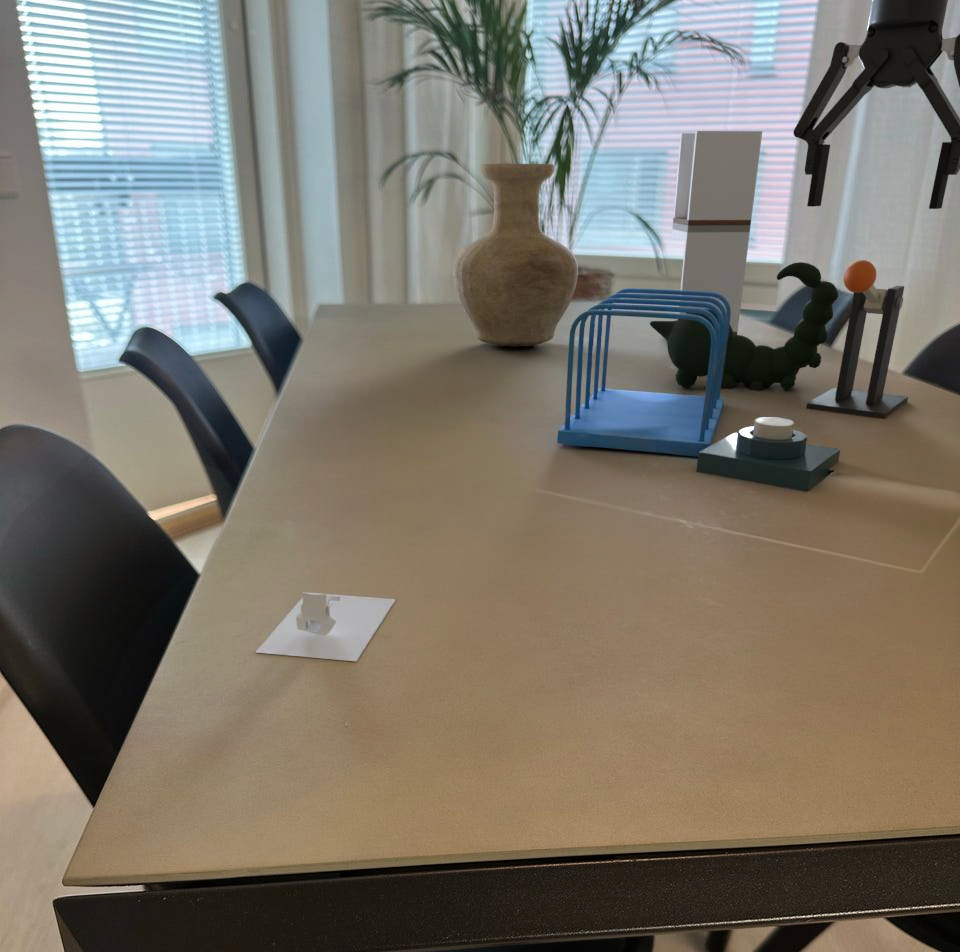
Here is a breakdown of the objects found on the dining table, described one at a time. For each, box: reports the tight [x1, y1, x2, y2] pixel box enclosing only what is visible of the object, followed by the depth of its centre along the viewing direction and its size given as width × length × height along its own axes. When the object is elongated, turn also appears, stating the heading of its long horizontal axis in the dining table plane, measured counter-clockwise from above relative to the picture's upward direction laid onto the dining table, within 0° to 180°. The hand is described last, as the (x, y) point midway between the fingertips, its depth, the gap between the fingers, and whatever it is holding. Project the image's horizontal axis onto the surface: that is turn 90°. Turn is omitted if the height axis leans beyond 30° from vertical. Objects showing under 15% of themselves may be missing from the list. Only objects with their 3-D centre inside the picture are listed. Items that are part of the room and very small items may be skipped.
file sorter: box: [556, 287, 731, 458], centre depth 111 cm, size 25×17×15 cm
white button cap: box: [753, 416, 795, 440], centre depth 96 cm, size 4×4×2 cm
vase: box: [452, 163, 579, 347], centre depth 163 cm, size 22×22×30 cm
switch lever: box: [843, 259, 888, 315], centre depth 112 cm, size 14×4×4 cm, turn 144°
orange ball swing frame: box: [805, 285, 909, 420], centre depth 119 cm, size 12×10×16 cm
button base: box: [696, 425, 841, 493], centre depth 97 cm, size 12×10×4 cm
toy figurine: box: [649, 261, 839, 392], centre depth 131 cm, size 9×19×25 cm
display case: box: [671, 130, 763, 335], centre depth 169 cm, size 11×11×35 cm
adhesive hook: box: [295, 592, 341, 636], centre depth 63 cm, size 3×3×3 cm
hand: (872, 207), depth 106 cm, fingers open, 13 cm apart
